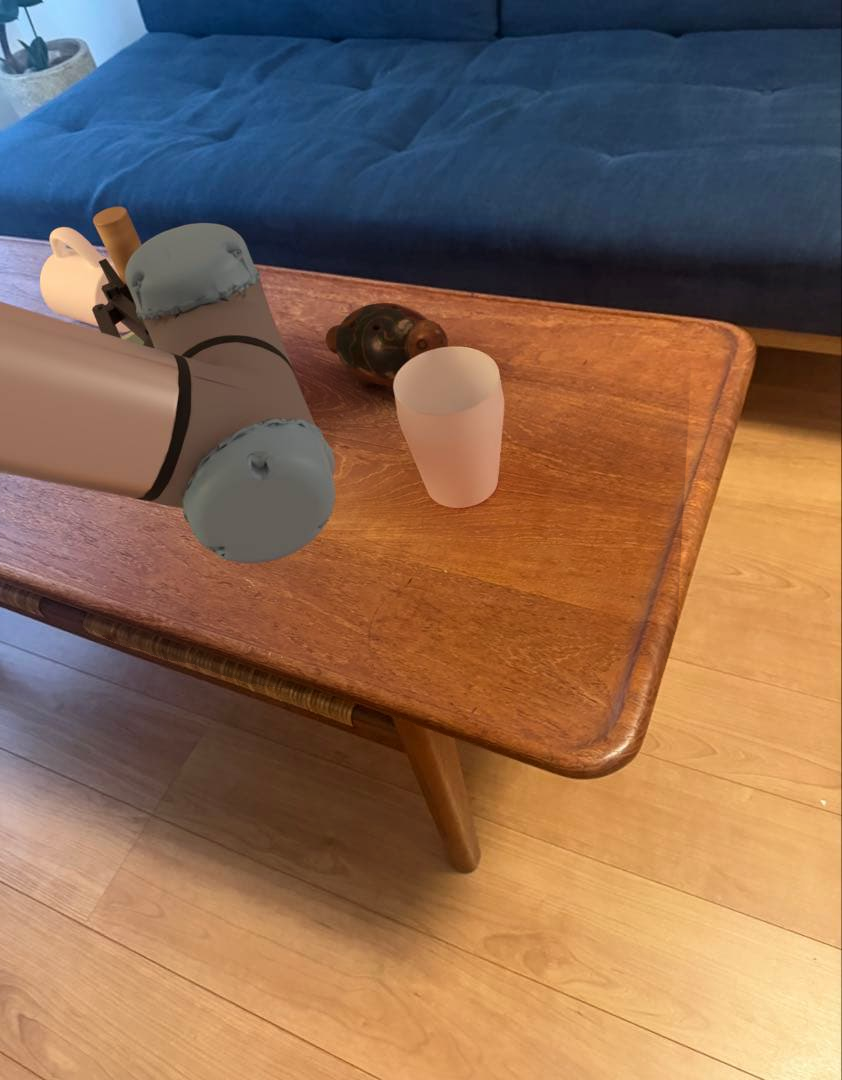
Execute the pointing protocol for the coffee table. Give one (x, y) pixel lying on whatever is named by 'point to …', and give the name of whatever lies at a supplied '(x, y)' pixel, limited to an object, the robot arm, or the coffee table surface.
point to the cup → (452, 422)
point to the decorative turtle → (383, 341)
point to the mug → (74, 277)
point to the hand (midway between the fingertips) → (126, 265)
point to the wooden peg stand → (118, 237)
